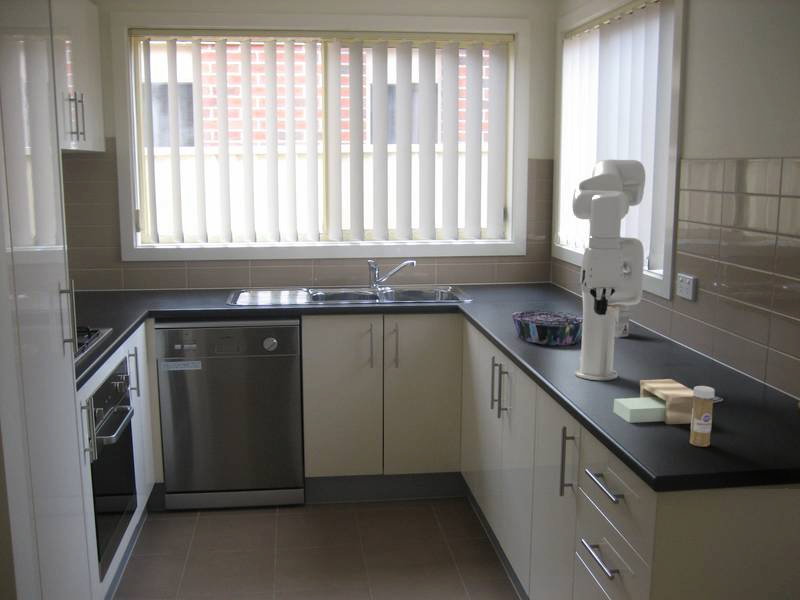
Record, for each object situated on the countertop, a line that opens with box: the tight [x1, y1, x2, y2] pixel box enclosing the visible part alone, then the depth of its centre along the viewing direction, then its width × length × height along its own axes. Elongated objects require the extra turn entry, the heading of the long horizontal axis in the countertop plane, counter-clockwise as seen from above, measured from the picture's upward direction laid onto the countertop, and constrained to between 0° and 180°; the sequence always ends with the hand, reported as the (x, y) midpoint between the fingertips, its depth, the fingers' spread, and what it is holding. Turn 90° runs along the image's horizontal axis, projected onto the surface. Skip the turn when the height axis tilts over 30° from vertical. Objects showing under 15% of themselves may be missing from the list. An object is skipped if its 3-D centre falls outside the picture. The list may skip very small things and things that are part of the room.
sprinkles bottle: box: [689, 385, 716, 447], centre depth 195 cm, size 5×5×13 cm
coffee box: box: [607, 304, 631, 339], centre depth 312 cm, size 9×6×16 cm
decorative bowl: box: [511, 310, 583, 346], centre depth 304 cm, size 26×28×10 cm
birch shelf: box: [639, 378, 694, 425], centre depth 218 cm, size 16×9×7 cm, turn 12°
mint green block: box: [613, 397, 666, 424], centre depth 217 cm, size 9×16×4 cm, turn 101°
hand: (600, 313), depth 219 cm, fingers closed
